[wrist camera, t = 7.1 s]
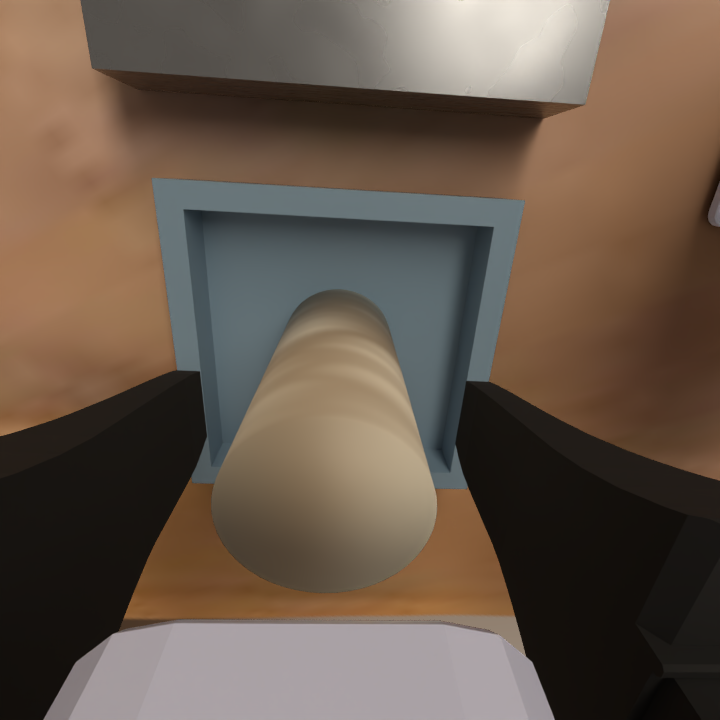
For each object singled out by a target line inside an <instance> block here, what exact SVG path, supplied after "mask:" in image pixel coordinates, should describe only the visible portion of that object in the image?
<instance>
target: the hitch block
mask: <svg viewBox="0 0 720 720" xmlns="http://www.w3.org/2000/svg"><path fill="white" fill-rule="evenodd" d="M609 2H610V0H81V6H82V12H83V18H84V24H85V30H86V35H87V41H88V47H89V53H90V59H91V65H92V69H95V70H97V71H99V72H101V73H103V74H106V75H108V76H110V77H112V78H114V79H116V80H119V81H121V82H123V83H125V84H127V85H130V86H132V87H134V88H136V89H141V90H155V91H169V92H183V93H197V94H211V95H225V96H239V97H253V98H267V99H281V100H295V101H309V102H323V103H337V104H351V105H365V106H379V107H393V108H407V109H421V110H435V111H449V112H463V113H477V114H491V115H505V116H519V117H533V118H547V117H550V116H553V115H556V114H559V113H562V112H565V111H568V110H571V109H574V108H577V107H580V106H583V105H585V104H586V100H587V95H588V91H589V87H590V83H591V78H592V74H593V70H594V66H595V61H596V57H597V53H598V49H599V45H600V40H601V36H602V32H603V28H604V23H605V19H606V15H607V11H608V6H609Z"/></svg>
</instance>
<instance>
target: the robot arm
mask: <svg viewBox="0 0 720 720" xmlns="http://www.w3.org/2000/svg"><path fill="white" fill-rule="evenodd" d="M708 220H709V222H710V223H711V225H713V226H717V227H720V183H719V185H718V188H717V191H716V193H715V196H714V199H713V201H712V204H711V207H710V209H709V213H708ZM206 438H207V431H206V421H205V412H204V403H203V394H202V385H201V376H200V371H182V370H176V371H172V372H169V373H166V374H164V375H161V376H159V377H156V378H154V379H151V380H149V381H147V382H145V383H142V384H140V385H138V386H136V387H133V388H131V389H129V390H127V391H124V392H122V393H120V394H118V395H115V396H113V397H111V398H108V399H106V400H103V401H101V402H98V403H96V404H93V405H91V406H89V407H86V408H84V409H81V410H79V411H76V412H74V413H71V414H69V415H66V416H63V417H60V418H58V419H55V420H52V421H49V422H46V423H43V424H40V425H37V426H34V427H31V428H27V429H24V430H21V431H18V432H14V433H11V434H8V435H4V436H0V720H720V481H719V480H715V479H711V478H708V477H704V476H701V475H697V474H694V473H691V472H688V471H684V470H681V469H678V468H675V467H672V466H669V465H666V464H663V463H660V462H657V461H654V460H651V459H648V458H645V457H643V456H640V455H637V454H635V453H632V452H629V451H627V450H624V449H622V448H620V447H617V446H615V445H612V444H610V443H608V442H605V441H603V440H600V439H598V438H596V437H594V436H591V435H589V434H587V433H585V432H583V431H581V430H579V429H577V428H575V427H573V426H571V425H569V424H567V423H565V422H563V421H561V420H559V419H557V418H555V417H553V416H552V415H550V414H548V413H546V412H544V411H542V410H541V409H539V408H537V407H535V406H534V405H532V404H530V403H528V402H526V401H525V400H523V399H521V398H519V397H518V396H516V395H514V394H512V393H511V392H509V391H507V390H505V389H503V388H501V387H499V386H497V385H495V384H493V383H490V382H484V381H466V385H465V390H464V396H463V402H462V407H461V413H460V419H459V424H458V430H457V435H456V441H455V445H456V449H457V453H458V457H459V461H460V465H461V469H462V472H463V475H464V478H465V480H466V483H467V485H468V488H469V490H470V492H471V495H472V497H473V500H474V502H475V504H476V507H477V509H478V511H479V514H480V516H481V518H482V521H483V523H484V525H485V528H486V530H487V532H488V535H489V537H490V539H491V542H492V544H493V547H494V549H495V552H496V555H497V557H498V560H499V563H500V566H501V569H502V573H503V576H504V579H505V583H506V586H507V589H508V592H509V596H510V599H511V602H512V606H513V610H514V613H515V617H516V620H517V623H518V627H519V631H520V635H521V638H522V642H523V646H524V650H525V654H526V656H524V655H523V654H522V653H521V652H520V651H518V650H517V649H516V648H515V647H514V646H512V645H511V644H510V643H509V642H507V641H506V640H505V639H504V638H503V637H501V636H500V635H498V634H496V633H494V632H492V631H490V630H486V629H481V628H476V627H470V626H465V625H460V624H455V623H450V622H444V621H419V620H418V621H417V620H414V621H413V620H411V621H410V620H407V621H406V620H222V619H179V620H173V621H168V622H162V623H157V624H151V625H145V626H139V627H133V628H128V629H125V630H122V631H119V629H120V626H121V623H122V621H123V618H124V616H125V613H126V610H127V608H128V605H129V603H130V600H131V598H132V595H133V593H134V590H135V588H136V585H137V583H138V581H139V578H140V576H141V573H142V571H143V569H144V566H145V564H146V561H147V559H148V557H149V555H150V553H151V550H152V548H153V546H154V544H155V542H156V540H157V538H158V537H159V535H160V533H161V531H162V529H163V527H164V526H165V524H166V522H167V520H168V518H169V516H170V515H171V513H172V511H173V509H174V507H175V505H176V504H177V502H178V500H179V498H180V496H181V495H182V493H183V491H184V489H185V487H186V485H187V483H188V482H189V480H190V478H191V476H192V474H193V472H194V470H195V468H196V466H197V463H198V461H199V458H200V455H201V453H202V450H203V447H204V444H205V441H206ZM118 631H119V632H118Z"/></svg>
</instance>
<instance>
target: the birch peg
mask: <svg viewBox="0 0 720 720" xmlns="http://www.w3.org/2000/svg"><path fill="white" fill-rule="evenodd" d="M211 512H212V517H213V522H214V525H215V528H216V531H217V533H218V535H219V537H220V539H221V541H222V543H223V544H224V546H225V547H226V548H227V550H228V551H229V552H230V554H231V555H232V556H233V557H234V558H235V559H236V560H237V561H238V562H239V563H241V564H242V565H243V566H244V567H246V568H247V569H248V570H250V571H251V572H253V573H254V574H256V575H258V576H259V577H261V578H263V579H265V580H267V581H269V582H272V583H274V584H277V585H280V586H283V587H286V588H290V589H294V590H299V591H305V592H314V593H338V592H346V591H352V590H357V589H361V588H365V587H368V586H371V585H374V584H376V583H379V582H381V581H383V580H385V579H387V578H389V577H391V576H393V575H394V574H396V573H398V572H399V571H400V570H402V569H403V568H405V567H406V566H407V565H408V564H409V563H410V562H411V561H413V560H414V559H415V558H416V557H417V555H418V554H419V553H420V552H421V550H422V549H423V548H424V546H425V545H426V543H427V541H428V540H429V538H430V535H431V533H432V531H433V528H434V524H435V520H436V514H437V498H436V492H435V488H434V484H433V481H432V477H431V474H430V470H429V467H428V463H427V459H426V456H425V452H424V449H423V445H422V442H421V438H420V435H419V431H418V428H417V424H416V421H415V417H414V414H413V410H412V407H411V403H410V400H409V396H408V392H407V389H406V385H405V382H404V378H403V375H402V371H401V368H400V364H399V361H398V357H397V354H396V350H395V347H394V343H393V340H392V336H391V333H390V329H389V326H388V323H387V320H386V318H385V316H384V314H383V313H382V311H381V310H380V309H379V308H378V306H377V305H376V304H374V303H373V302H372V301H371V300H370V299H368V298H367V297H365V296H363V295H361V294H359V293H356V292H353V291H349V290H343V289H332V290H325V291H322V292H319V293H316V294H314V295H312V296H310V297H309V298H307V299H306V300H304V301H303V302H302V303H301V304H300V305H299V306H298V307H297V308H296V309H295V311H294V312H293V314H292V316H291V317H290V319H289V322H288V324H287V326H286V328H285V330H284V332H283V335H282V337H281V339H280V341H279V343H278V345H277V347H276V350H275V352H274V354H273V356H272V358H271V360H270V363H269V365H268V367H267V369H266V371H265V373H264V376H263V378H262V380H261V382H260V384H259V386H258V388H257V391H256V393H255V395H254V397H253V399H252V401H251V404H250V406H249V408H248V410H247V412H246V414H245V417H244V419H243V421H242V423H241V425H240V427H239V429H238V432H237V434H236V436H235V438H234V440H233V442H232V445H231V447H230V449H229V451H228V453H227V455H226V457H225V460H224V462H223V464H222V466H221V468H220V470H219V473H218V475H217V477H216V480H215V483H214V486H213V491H212V497H211Z"/></svg>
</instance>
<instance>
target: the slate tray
mask: <svg viewBox="0 0 720 720" xmlns="http://www.w3.org/2000/svg"><path fill="white" fill-rule="evenodd" d="M152 184H153V192H154V199H155V207H156V214H157V222H158V229H159V237H160V244H161V252H162V259H163V267H164V274H165V282H166V289H167V297H168V304H169V312H170V319H171V327H172V334H173V342H174V349H175V357H176V364H177V370H182V371H200V376H201V385H202V394H203V403H204V412H205V421H206V431H207V438H206V441H205V444H204V447H203V450H202V453H201V455H200V458H199V461H198V463H197V466H196V468H195V470H194V472H193V474H192V476H191V477H192V483H211V484H214V483H215V480H216V477H217V475H218V473H219V470H220V468H221V466H222V464H223V462H224V460H225V457H226V455H227V453H228V451H229V449H230V447H231V445H232V442H233V440H234V438H235V436H236V434H237V432H238V429H239V427H240V425H241V423H242V421H243V419H244V417H245V414H246V412H247V410H248V408H249V406H250V404H251V401H252V399H253V397H254V395H255V393H256V391H257V388H258V386H259V384H260V382H261V380H262V378H263V376H264V373H265V371H266V369H267V367H268V365H269V363H270V360H271V358H272V356H273V354H274V352H275V350H276V347H277V345H278V343H279V341H280V339H281V337H282V335H283V332H284V330H285V328H286V326H287V324H288V322H289V319H290V317H291V316H292V314H293V312H294V311H295V309H296V308H297V307H298V306H299V305H300V304H301V303H302V302H303V301H304V300H306V299H307V298H309V297H310V296H312V295H314V294H316V293H319V292H322V291H325V290H332V289H343V290H349V291H353V292H356V293H359V294H361V295H363V296H365V297H367V298H368V299H370V300H371V301H372V302H373V303H374V304H376V305H377V306H378V308H379V309H380V310H381V311H382V313H383V314H384V316H385V318H386V320H387V323H388V326H389V329H390V333H391V336H392V340H393V343H394V347H395V350H396V354H397V357H398V361H399V364H400V368H401V371H402V375H403V378H404V382H405V385H406V389H407V392H408V396H409V400H410V403H411V407H412V410H413V414H414V417H415V421H416V424H417V428H418V431H419V435H420V438H421V442H422V445H423V449H424V452H425V456H426V459H427V463H428V467H429V470H430V474H431V477H432V481H433V484H434V488H436V489H467V486H468V485H467V483H466V480H465V478H464V475H463V472H462V469H461V465H460V461H459V457H458V453H457V449H456V445H455V441H456V435H457V430H458V424H459V419H460V413H461V407H462V402H463V396H464V390H465V385H466V381H484V382H489V377H490V372H491V367H492V362H493V357H494V352H495V347H496V342H497V337H498V332H499V327H500V322H501V318H502V313H503V308H504V303H505V298H506V293H507V288H508V283H509V278H510V273H511V268H512V263H513V258H514V253H515V248H516V243H517V238H518V233H519V228H520V223H521V218H522V213H523V208H524V204H525V201H524V200H513V199H502V198H487V197H471V196H454V195H438V194H421V193H405V192H388V191H372V190H355V189H339V188H322V187H306V186H289V185H273V184H256V183H239V182H223V181H206V180H190V179H167V178H152Z"/></svg>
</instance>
